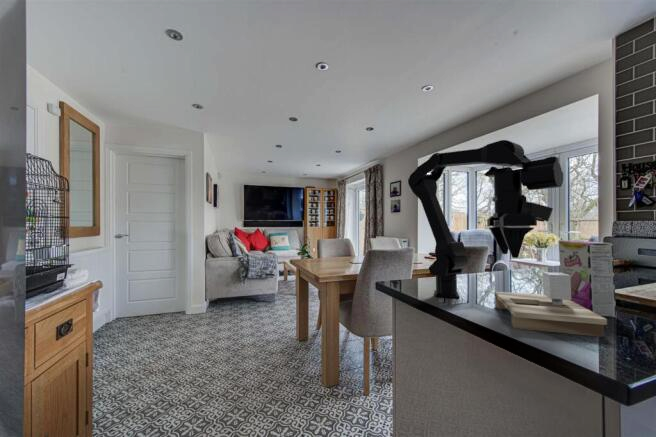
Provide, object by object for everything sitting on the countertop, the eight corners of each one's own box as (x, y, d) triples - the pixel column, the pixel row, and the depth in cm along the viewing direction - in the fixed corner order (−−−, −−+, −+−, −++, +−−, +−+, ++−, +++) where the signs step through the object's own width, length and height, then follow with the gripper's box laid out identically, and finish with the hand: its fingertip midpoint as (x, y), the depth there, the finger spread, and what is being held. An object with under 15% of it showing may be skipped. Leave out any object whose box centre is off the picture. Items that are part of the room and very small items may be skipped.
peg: (542, 316, 62) (541, 271, 62) (564, 318, 60) (563, 272, 61) (550, 322, 58) (548, 274, 58) (574, 324, 57) (572, 275, 57)
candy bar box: (559, 303, 72) (557, 240, 73) (582, 304, 71) (579, 240, 72) (591, 317, 61) (588, 242, 62) (618, 318, 60) (614, 242, 61)
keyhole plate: (494, 305, 71) (494, 291, 71) (561, 310, 66) (561, 295, 66) (515, 330, 54) (515, 311, 54) (607, 339, 49) (606, 319, 50)
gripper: (565, 185, 57) (568, 261, 57) (533, 194, 75) (535, 253, 74) (503, 188, 61) (505, 259, 60) (486, 196, 78) (487, 252, 78)
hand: (509, 255), depth 68 cm, fingers open, 9 cm apart
